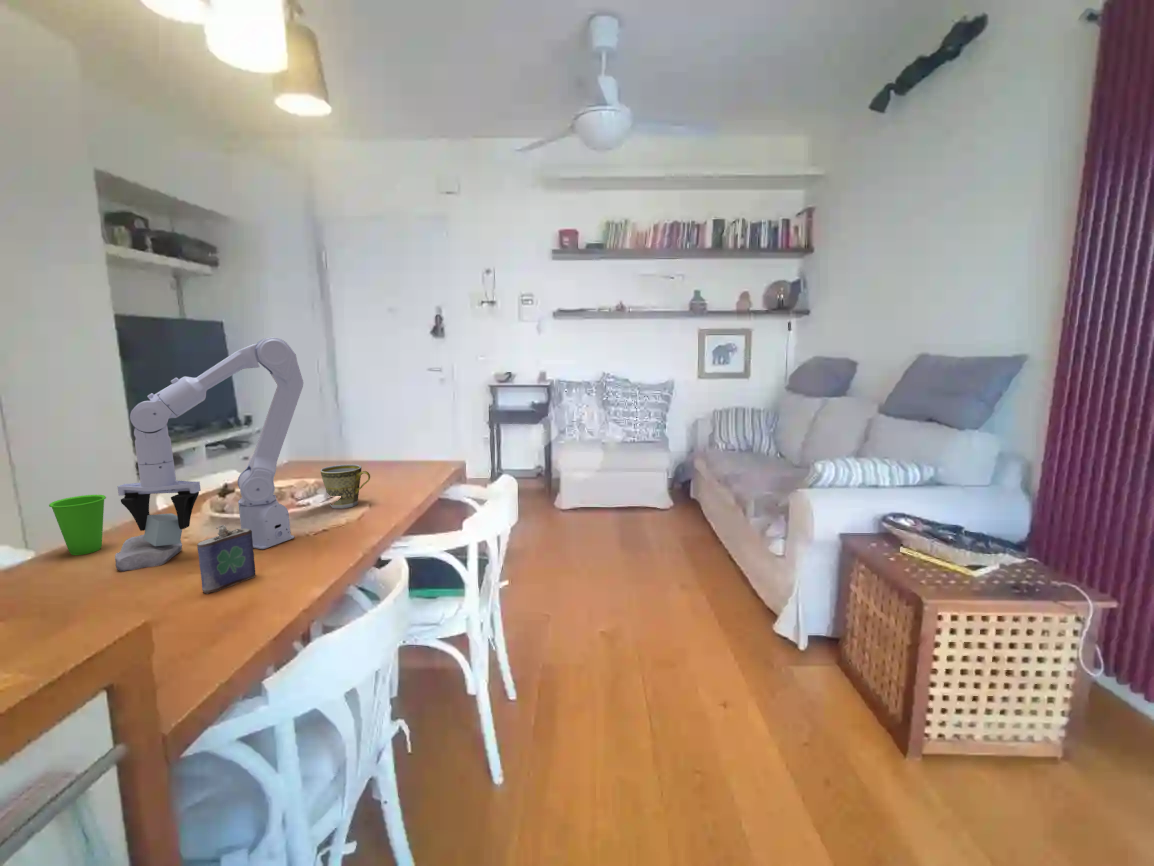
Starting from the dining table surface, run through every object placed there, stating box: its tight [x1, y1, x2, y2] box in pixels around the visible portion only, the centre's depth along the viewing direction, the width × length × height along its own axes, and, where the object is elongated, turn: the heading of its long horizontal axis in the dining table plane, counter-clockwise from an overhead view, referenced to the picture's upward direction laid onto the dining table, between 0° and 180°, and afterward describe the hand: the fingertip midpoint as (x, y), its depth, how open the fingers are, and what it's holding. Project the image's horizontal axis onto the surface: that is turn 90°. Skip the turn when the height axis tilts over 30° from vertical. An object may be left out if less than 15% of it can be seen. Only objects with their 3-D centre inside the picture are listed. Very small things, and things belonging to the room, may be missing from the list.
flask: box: [196, 524, 257, 595], centre depth 102 cm, size 9×3×11 cm, turn 151°
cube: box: [143, 513, 183, 546], centre depth 116 cm, size 4×4×5 cm
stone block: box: [114, 534, 183, 572], centre depth 116 cm, size 12×5×10 cm
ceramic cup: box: [320, 463, 371, 510], centre depth 152 cm, size 13×10×10 cm
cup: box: [48, 494, 107, 556], centre depth 120 cm, size 9×9×11 cm
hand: (165, 528), depth 116 cm, fingers open, 7 cm apart
